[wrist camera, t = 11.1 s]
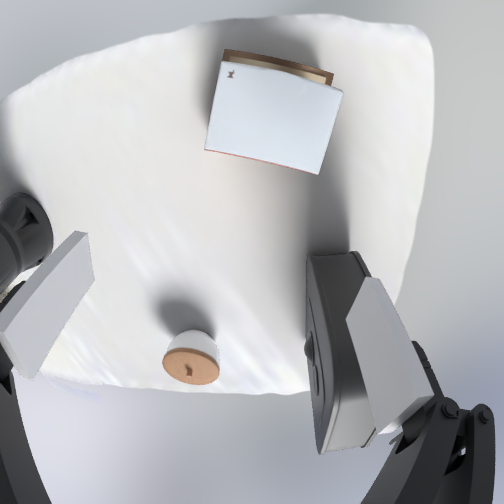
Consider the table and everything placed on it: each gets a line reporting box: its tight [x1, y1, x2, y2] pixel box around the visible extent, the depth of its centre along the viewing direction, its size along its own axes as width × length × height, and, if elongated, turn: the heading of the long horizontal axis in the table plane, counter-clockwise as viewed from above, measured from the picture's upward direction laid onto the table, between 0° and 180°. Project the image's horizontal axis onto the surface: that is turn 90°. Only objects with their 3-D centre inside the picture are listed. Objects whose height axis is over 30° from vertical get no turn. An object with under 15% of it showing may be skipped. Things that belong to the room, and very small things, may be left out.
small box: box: [204, 61, 343, 175], centre depth 22 cm, size 8×6×13 cm
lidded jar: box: [162, 330, 220, 385], centre depth 51 cm, size 11×11×9 cm
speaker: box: [304, 251, 377, 455], centre depth 38 cm, size 25×9×25 cm, turn 7°
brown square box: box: [204, 49, 334, 152], centre depth 30 cm, size 12×12×6 cm
